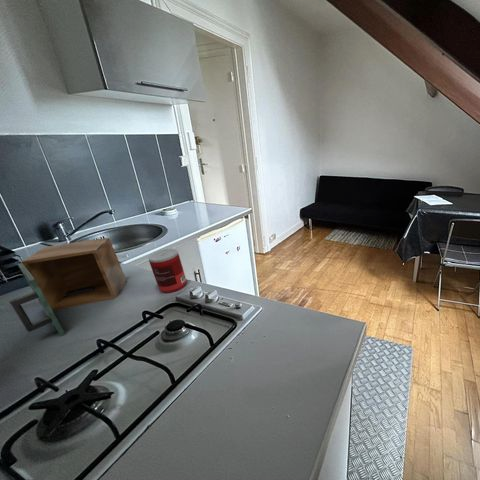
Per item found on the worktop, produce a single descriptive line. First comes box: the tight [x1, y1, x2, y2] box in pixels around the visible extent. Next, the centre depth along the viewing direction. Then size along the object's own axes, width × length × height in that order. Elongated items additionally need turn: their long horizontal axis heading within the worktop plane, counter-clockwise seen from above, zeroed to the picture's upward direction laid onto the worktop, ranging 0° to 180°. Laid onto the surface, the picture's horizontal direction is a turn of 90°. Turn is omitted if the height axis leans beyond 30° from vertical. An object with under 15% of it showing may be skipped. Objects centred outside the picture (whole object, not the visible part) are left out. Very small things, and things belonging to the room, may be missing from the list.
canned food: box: [148, 248, 187, 294], centre depth 78 cm, size 8×8×11 cm
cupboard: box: [21, 237, 128, 312], centre depth 75 cm, size 10×16×16 cm, turn 109°
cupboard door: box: [8, 262, 66, 337], centre depth 62 cm, size 5×16×15 cm, turn 54°
